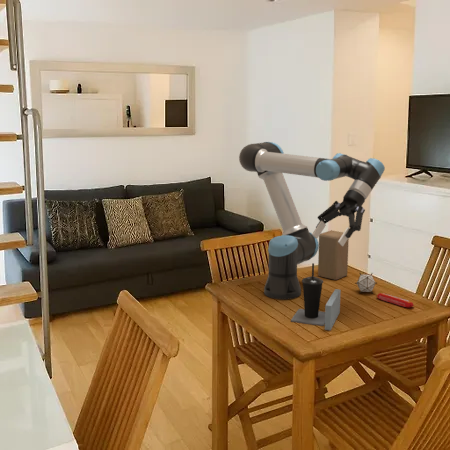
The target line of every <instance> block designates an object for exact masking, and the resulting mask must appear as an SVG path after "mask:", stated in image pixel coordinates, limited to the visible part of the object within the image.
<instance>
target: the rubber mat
mask: <svg viewBox="0 0 450 450" xmlns="http://www.w3.org/2000/svg"><path fill="white" fill-rule="evenodd" d="M290 322H291V323H292V322H293V323H298V324H304V325H312V326H321V327H325V311H320V310H319V313H318V317H317V318H307V317H305V310H304V308H298V310H297V311H296V312H295V313H294V315H293V316H292V318H291V319H290Z"/></svg>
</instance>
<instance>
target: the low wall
mask: <svg viewBox="0 0 450 450" xmlns="http://www.w3.org/2000/svg"><path fill="white" fill-rule="evenodd" d="M341 292H342V291H341V289H338V288H337V289H336V288H335V289H334V290H333V292H332V294H331V295H330V297H329V299H328V300H327V301H326V304H325V308H324V309H325V310H324V312H325V325H324V330H325V331H332V329H333V326H334V325H335V322H336V321H337V319H338V316H339V314H340V313H341Z"/></svg>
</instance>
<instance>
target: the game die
mask: <svg viewBox="0 0 450 450" xmlns="http://www.w3.org/2000/svg"><path fill="white" fill-rule="evenodd" d="M354 284H356V285H357V287H358V290H359V294H361V293H363V292H365V293H366V292H367V293H371V294H374V292H373V290H374V288H375V285H377V284H378V282H376V280H375V279H374V277H373V272H371V274H363V273H361V272H359V277H358V279H357V282H354Z"/></svg>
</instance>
